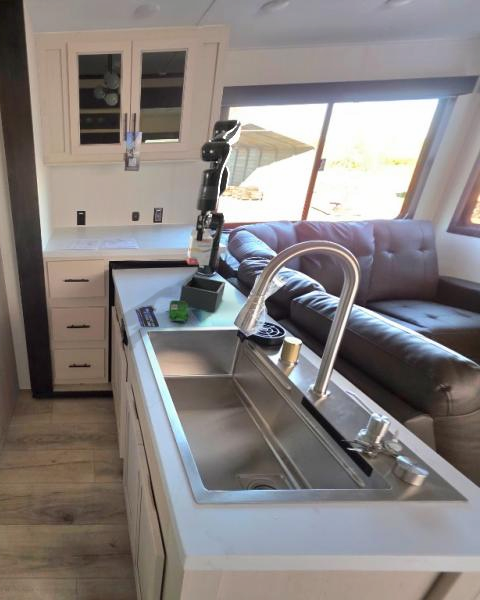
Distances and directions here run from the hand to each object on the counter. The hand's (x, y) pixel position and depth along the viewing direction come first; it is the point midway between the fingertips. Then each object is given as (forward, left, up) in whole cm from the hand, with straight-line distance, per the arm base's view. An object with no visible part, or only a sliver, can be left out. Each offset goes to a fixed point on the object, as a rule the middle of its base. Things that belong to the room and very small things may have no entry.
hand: (201, 238), depth 132 cm
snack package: (+22, 0, -28) cm, 35 cm away
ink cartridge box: (0, 0, -11) cm, 11 cm away
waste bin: (+2, +4, -28) cm, 28 cm away
